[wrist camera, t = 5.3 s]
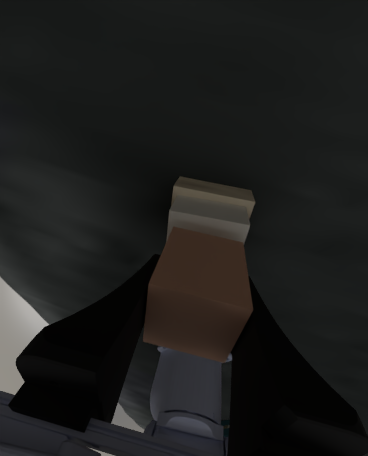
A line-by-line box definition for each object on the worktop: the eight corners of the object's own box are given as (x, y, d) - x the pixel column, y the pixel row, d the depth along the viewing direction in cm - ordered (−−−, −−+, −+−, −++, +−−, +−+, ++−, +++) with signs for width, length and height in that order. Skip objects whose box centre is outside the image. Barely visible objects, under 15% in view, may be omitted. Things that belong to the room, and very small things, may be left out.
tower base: (231, 246, 21) (232, 264, 19) (172, 233, 22) (165, 250, 19) (250, 189, 18) (255, 201, 16) (180, 175, 19) (173, 185, 16)
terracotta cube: (224, 291, 15) (224, 363, 11) (165, 276, 15) (142, 341, 11) (243, 242, 13) (253, 310, 8) (173, 226, 13) (148, 283, 9)
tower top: (229, 260, 19) (230, 283, 16) (171, 248, 19) (163, 269, 17) (245, 206, 16) (250, 225, 13) (177, 194, 16) (169, 210, 14)
